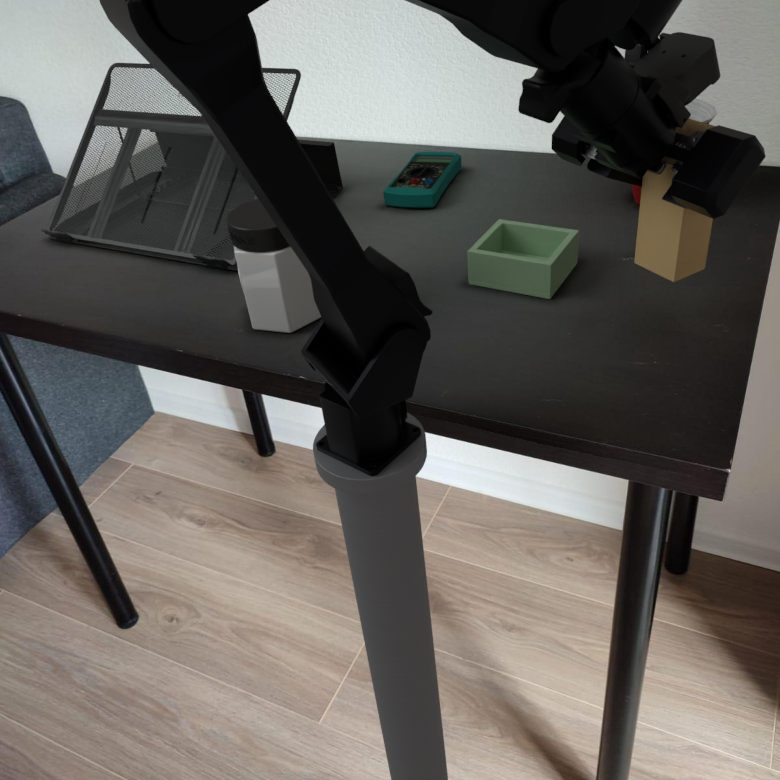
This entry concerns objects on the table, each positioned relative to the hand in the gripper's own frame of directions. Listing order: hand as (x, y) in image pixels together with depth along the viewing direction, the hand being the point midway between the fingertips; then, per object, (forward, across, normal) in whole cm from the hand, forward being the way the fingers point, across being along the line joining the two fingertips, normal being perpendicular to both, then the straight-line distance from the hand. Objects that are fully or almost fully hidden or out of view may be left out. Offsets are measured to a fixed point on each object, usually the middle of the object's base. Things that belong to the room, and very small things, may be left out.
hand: (688, 195), depth 70 cm
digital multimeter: (+9, +45, +10) cm, 47 cm away
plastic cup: (+23, +21, -5) cm, 31 cm away
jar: (-12, +26, +31) cm, 42 cm away
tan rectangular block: (+4, 0, +6) cm, 7 cm away
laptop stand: (-12, +60, +30) cm, 68 cm away
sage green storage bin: (+5, +17, +13) cm, 22 cm away
